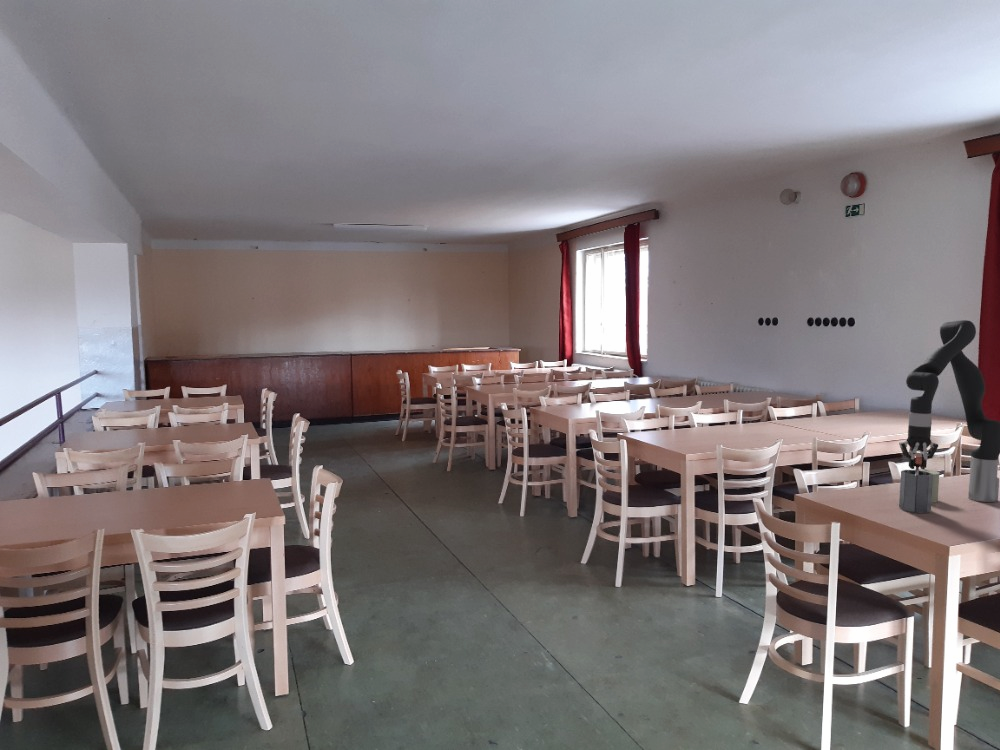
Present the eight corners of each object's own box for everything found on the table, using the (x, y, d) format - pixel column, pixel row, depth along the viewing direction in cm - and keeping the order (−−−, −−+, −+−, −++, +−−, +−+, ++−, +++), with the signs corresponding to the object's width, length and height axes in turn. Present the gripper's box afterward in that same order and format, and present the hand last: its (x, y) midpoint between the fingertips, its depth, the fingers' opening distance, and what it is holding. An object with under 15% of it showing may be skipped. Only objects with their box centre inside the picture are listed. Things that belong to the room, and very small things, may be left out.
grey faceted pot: (920, 505, 285) (922, 469, 283) (934, 513, 273) (937, 476, 271) (893, 504, 286) (895, 468, 285) (906, 512, 274) (908, 475, 272)
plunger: (920, 504, 281) (923, 455, 279) (929, 509, 274) (932, 459, 272) (901, 504, 282) (903, 454, 280) (909, 509, 275) (912, 458, 273)
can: (936, 498, 296) (938, 469, 295) (939, 503, 287) (941, 473, 286) (910, 495, 300) (912, 467, 299) (913, 500, 291) (914, 471, 290)
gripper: (934, 423, 278) (932, 467, 279) (896, 422, 280) (893, 466, 281) (944, 426, 270) (941, 471, 272) (904, 425, 272) (901, 470, 274)
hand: (917, 468), depth 277 cm, fingers closed on plunger, 3 cm apart
